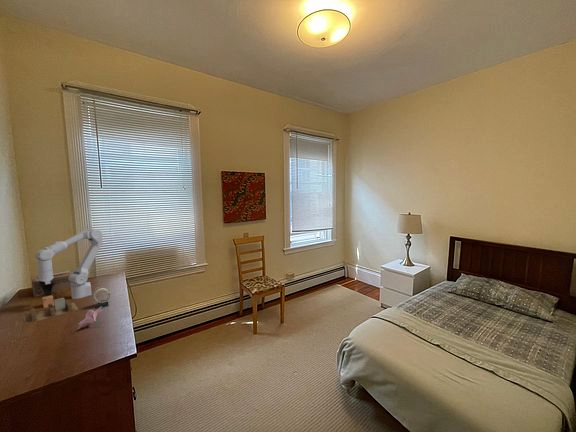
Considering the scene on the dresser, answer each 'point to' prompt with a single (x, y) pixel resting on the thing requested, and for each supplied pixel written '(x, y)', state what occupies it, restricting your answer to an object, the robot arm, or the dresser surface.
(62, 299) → the grey plug
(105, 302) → the watch
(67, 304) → the cable comb
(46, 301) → the terracotta plug
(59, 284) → the tissue box cover
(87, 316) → the lily
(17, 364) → the dresser surface
